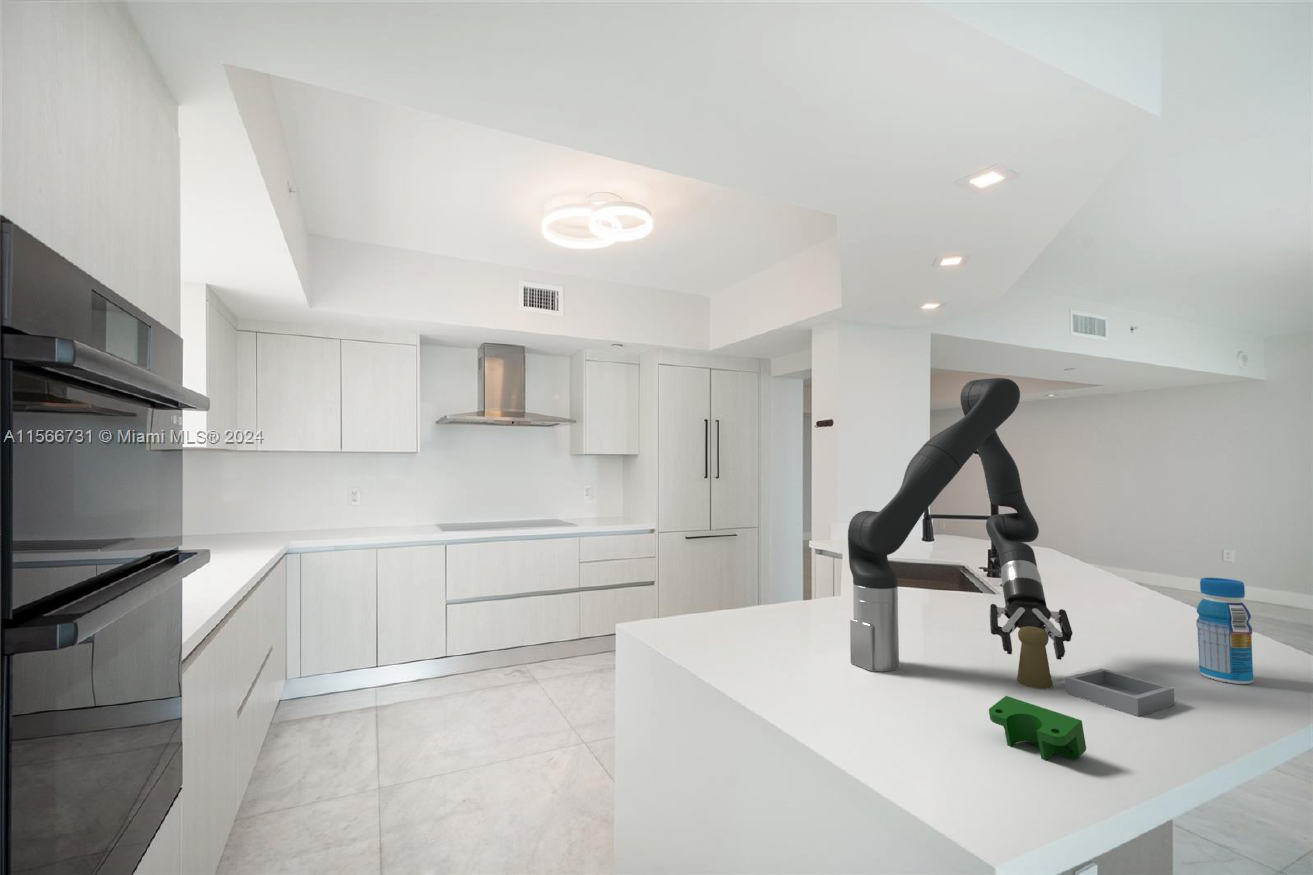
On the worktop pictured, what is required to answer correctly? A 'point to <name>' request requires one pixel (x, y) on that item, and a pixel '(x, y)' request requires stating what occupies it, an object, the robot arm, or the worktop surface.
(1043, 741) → the clamp
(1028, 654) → the cork
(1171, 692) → the tray
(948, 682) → the worktop surface
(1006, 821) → the worktop surface
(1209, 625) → the beverage bottle
